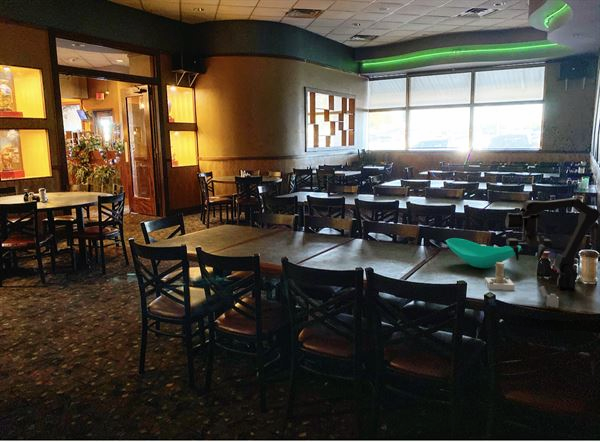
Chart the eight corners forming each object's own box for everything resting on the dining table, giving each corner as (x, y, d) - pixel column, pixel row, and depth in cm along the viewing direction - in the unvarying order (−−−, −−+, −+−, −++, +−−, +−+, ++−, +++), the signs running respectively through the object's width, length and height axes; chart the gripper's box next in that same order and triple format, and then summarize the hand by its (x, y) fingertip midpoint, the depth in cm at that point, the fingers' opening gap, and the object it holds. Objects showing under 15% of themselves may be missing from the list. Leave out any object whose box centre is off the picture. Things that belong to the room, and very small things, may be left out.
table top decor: (436, 266, 260) (436, 243, 258) (456, 256, 281) (457, 235, 278) (511, 278, 234) (512, 253, 232) (526, 266, 255) (528, 242, 253)
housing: (508, 283, 227) (508, 276, 227) (514, 290, 217) (514, 283, 216) (484, 282, 229) (485, 275, 229) (489, 289, 219) (489, 282, 218)
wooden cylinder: (501, 285, 224) (502, 262, 222) (503, 287, 221) (504, 263, 219) (495, 285, 225) (496, 262, 223) (496, 287, 222) (497, 263, 220)
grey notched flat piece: (558, 306, 194) (559, 288, 193) (557, 308, 193) (558, 289, 191) (539, 303, 199) (540, 285, 197) (538, 304, 198) (539, 286, 196)
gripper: (512, 231, 209) (511, 264, 212) (557, 231, 206) (555, 265, 209) (506, 226, 220) (505, 258, 223) (549, 226, 217) (547, 259, 219)
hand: (528, 260), depth 218 cm, fingers open, 9 cm apart
